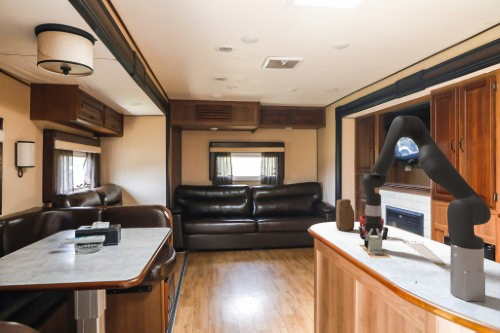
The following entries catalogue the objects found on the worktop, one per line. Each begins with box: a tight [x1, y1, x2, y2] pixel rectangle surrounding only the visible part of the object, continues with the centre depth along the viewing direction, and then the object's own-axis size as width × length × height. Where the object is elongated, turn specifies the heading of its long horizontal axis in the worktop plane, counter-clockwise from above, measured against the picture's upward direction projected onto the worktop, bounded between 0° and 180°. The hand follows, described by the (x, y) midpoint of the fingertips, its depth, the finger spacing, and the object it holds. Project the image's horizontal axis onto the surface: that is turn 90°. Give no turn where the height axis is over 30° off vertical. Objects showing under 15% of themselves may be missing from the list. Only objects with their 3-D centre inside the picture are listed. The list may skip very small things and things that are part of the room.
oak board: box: [359, 244, 392, 259], centre depth 147 cm, size 20×9×2 cm, turn 175°
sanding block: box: [365, 236, 383, 252], centre depth 148 cm, size 8×6×6 cm
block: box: [335, 198, 356, 232], centre depth 194 cm, size 11×8×20 cm
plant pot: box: [359, 215, 385, 237], centre depth 176 cm, size 13×13×12 cm
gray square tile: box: [372, 250, 383, 256], centre depth 142 cm, size 4×4×1 cm
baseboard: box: [405, 241, 446, 266], centre depth 146 cm, size 30×3×10 cm
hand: (373, 247), depth 148 cm, fingers closed on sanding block, 5 cm apart
